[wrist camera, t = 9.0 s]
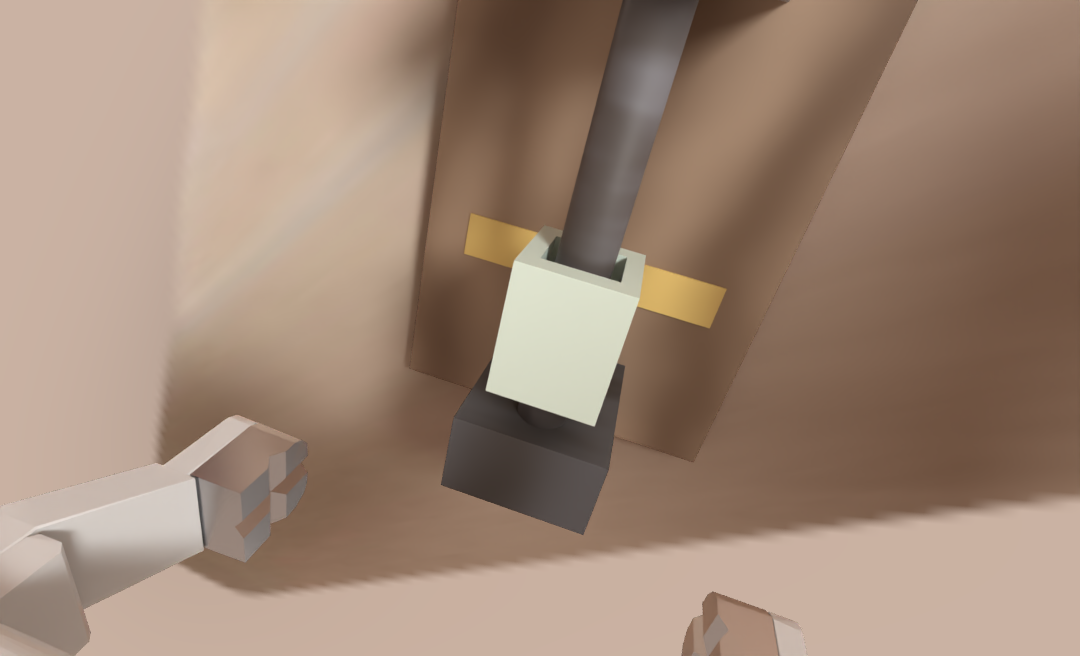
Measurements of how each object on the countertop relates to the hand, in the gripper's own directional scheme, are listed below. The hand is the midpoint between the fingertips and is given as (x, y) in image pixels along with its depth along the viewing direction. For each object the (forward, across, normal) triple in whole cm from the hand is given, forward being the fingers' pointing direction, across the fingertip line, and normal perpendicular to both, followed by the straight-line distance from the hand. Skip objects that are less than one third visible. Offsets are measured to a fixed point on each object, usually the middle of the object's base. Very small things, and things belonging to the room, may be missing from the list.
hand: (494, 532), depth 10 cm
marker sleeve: (+12, +1, 0) cm, 12 cm away
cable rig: (+17, +1, -3) cm, 17 cm away
